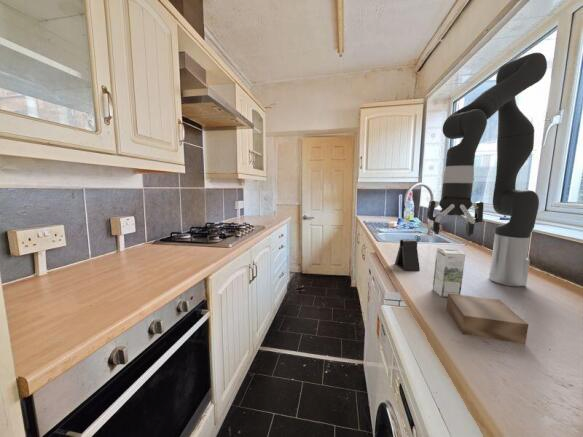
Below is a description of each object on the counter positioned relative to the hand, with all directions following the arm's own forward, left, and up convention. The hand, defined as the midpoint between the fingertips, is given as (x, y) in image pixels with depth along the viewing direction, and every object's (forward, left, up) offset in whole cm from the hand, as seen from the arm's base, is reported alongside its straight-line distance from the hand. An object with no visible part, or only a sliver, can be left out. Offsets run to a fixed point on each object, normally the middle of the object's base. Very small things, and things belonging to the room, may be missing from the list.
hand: (451, 234), depth 75 cm
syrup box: (0, 0, -20) cm, 20 cm away
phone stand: (+8, -24, -20) cm, 32 cm away
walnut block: (-3, +17, -20) cm, 26 cm away
